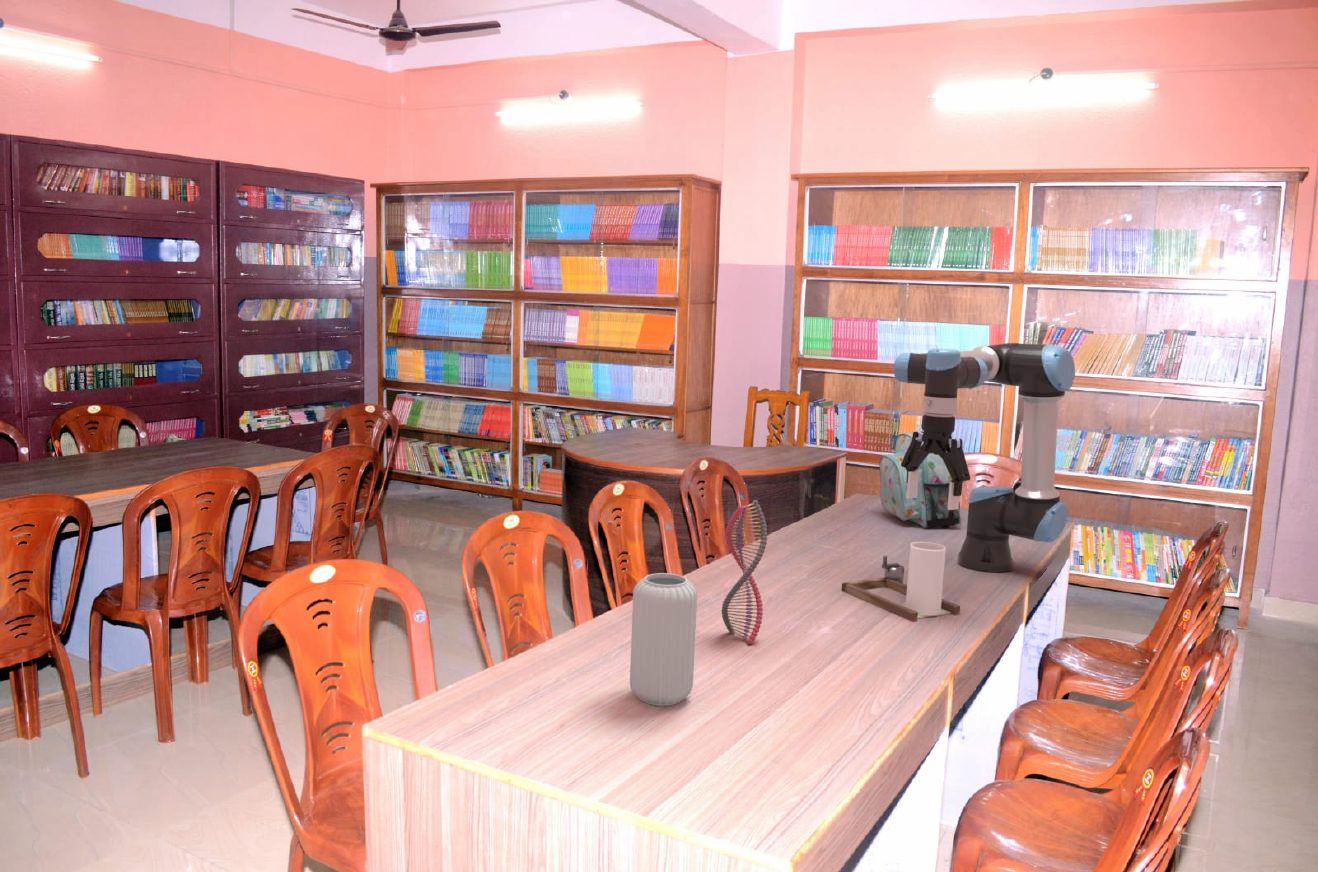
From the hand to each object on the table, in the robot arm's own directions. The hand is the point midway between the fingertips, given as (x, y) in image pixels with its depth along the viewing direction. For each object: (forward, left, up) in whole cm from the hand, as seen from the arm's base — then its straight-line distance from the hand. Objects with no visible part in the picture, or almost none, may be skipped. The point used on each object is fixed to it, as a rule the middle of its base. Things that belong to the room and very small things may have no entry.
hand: (931, 503), depth 230 cm
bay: (0, -8, -27) cm, 28 cm away
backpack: (-71, -78, -27) cm, 109 cm away
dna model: (+52, 0, -27) cm, 59 cm away
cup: (0, 0, -26) cm, 26 cm away
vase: (+83, +21, -27) cm, 90 cm away
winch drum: (-9, -20, -27) cm, 35 cm away
